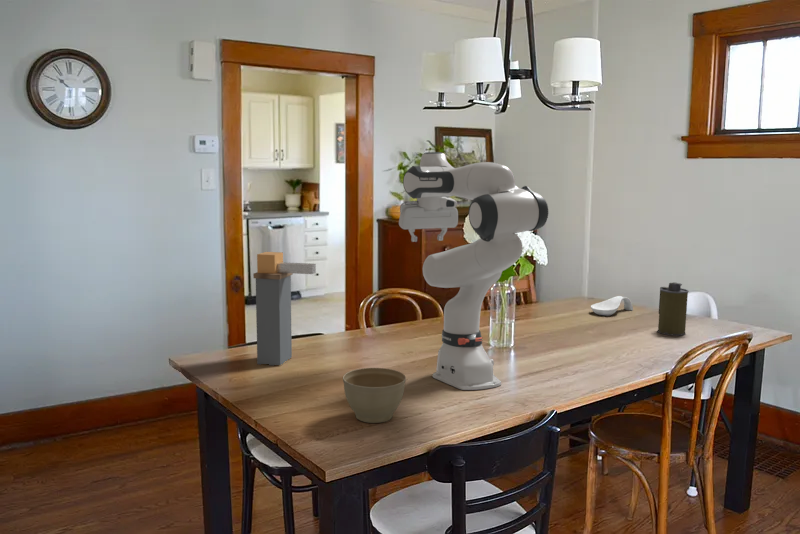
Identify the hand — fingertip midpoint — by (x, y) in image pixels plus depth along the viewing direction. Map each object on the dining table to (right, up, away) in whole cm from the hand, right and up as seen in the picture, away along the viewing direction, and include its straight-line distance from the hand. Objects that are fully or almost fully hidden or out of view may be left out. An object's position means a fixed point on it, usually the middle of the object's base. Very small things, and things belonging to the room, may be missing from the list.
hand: (427, 240), depth 232 cm
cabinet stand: (-51, -40, -3) cm, 65 cm away
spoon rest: (+87, -30, +80) cm, 122 cm away
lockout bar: (-46, -11, -8) cm, 48 cm away
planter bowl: (-16, -48, -53) cm, 74 cm away
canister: (+99, -35, +43) cm, 113 cm away
